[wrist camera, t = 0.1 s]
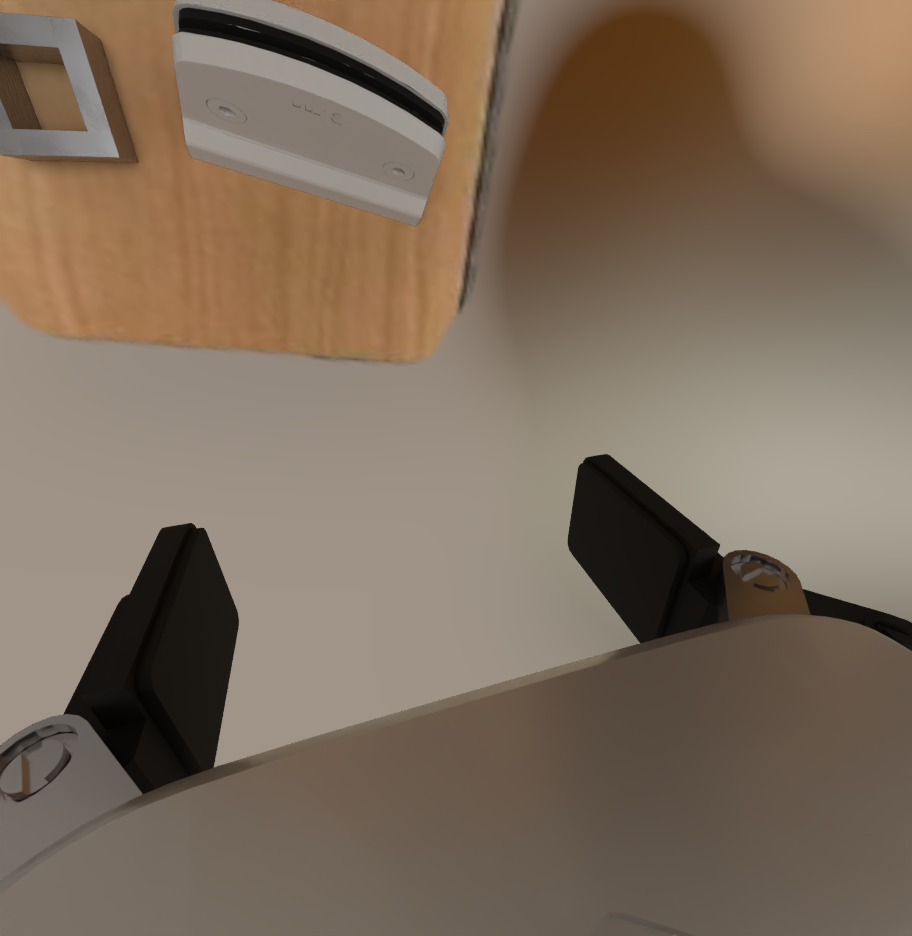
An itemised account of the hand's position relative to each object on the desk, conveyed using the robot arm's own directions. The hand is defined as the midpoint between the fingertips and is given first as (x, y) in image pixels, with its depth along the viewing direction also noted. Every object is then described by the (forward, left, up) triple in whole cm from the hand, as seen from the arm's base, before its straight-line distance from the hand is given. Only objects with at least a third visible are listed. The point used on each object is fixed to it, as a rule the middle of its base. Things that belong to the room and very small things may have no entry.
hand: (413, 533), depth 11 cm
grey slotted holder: (-12, 0, -32) cm, 34 cm away
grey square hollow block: (-13, -15, -31) cm, 37 cm away
